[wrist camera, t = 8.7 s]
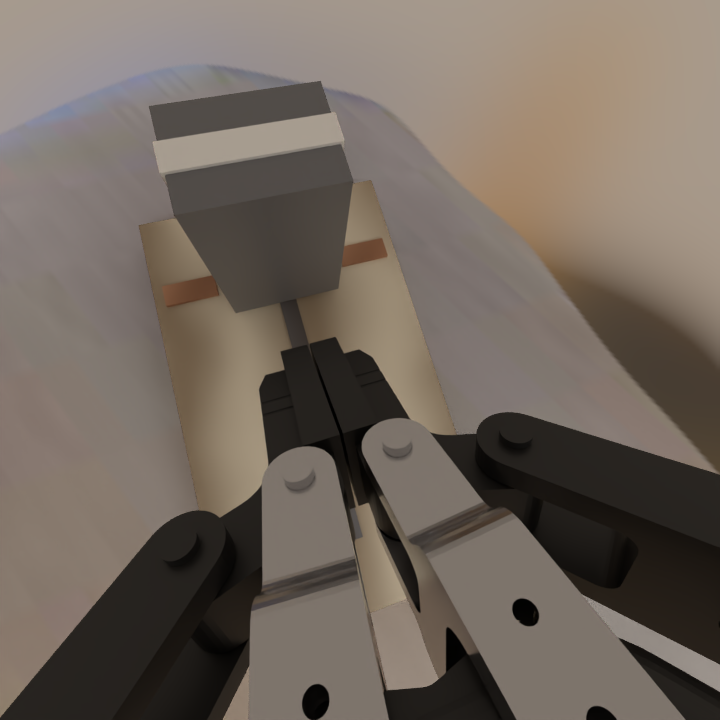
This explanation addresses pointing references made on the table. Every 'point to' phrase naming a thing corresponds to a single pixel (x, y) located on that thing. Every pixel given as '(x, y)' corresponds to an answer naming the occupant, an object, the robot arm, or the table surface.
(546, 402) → the table surface
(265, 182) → the fader knob
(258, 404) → the fader panel
